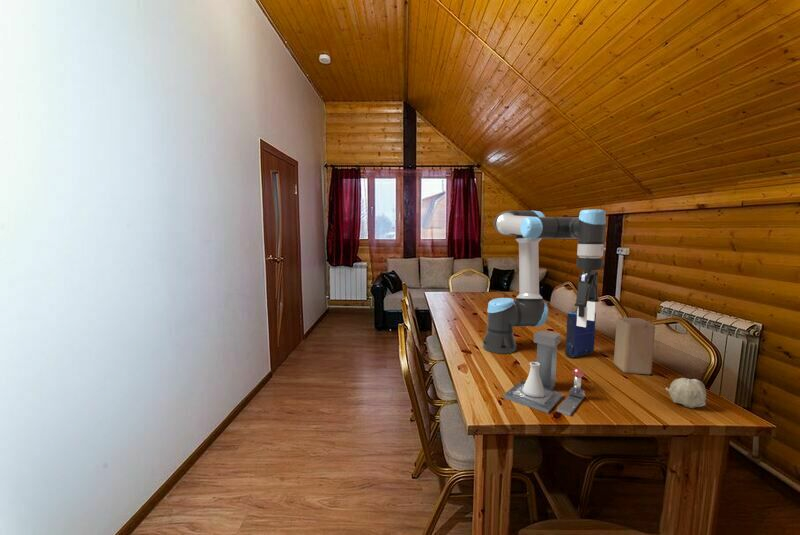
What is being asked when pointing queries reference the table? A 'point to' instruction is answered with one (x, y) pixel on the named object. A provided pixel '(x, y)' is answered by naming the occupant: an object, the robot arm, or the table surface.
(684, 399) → the garlic bulb
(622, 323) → the wooden block
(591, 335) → the book
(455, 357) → the table surface
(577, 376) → the lever
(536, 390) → the flask
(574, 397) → the base
